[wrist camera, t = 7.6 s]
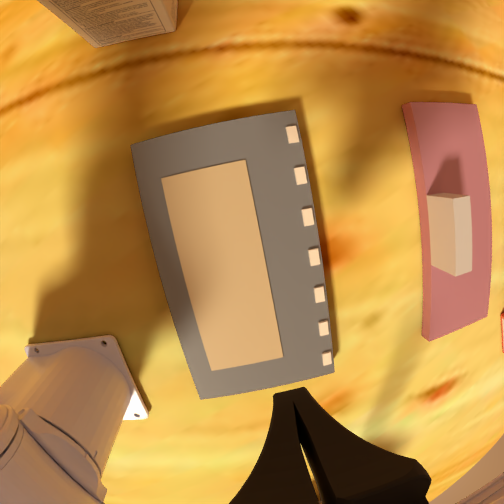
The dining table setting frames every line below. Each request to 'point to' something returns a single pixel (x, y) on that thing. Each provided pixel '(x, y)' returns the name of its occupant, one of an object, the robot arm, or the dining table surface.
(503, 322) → the cracker box
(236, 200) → the ticket
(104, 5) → the skincare box
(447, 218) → the pink board with handle
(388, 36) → the dining table surface
